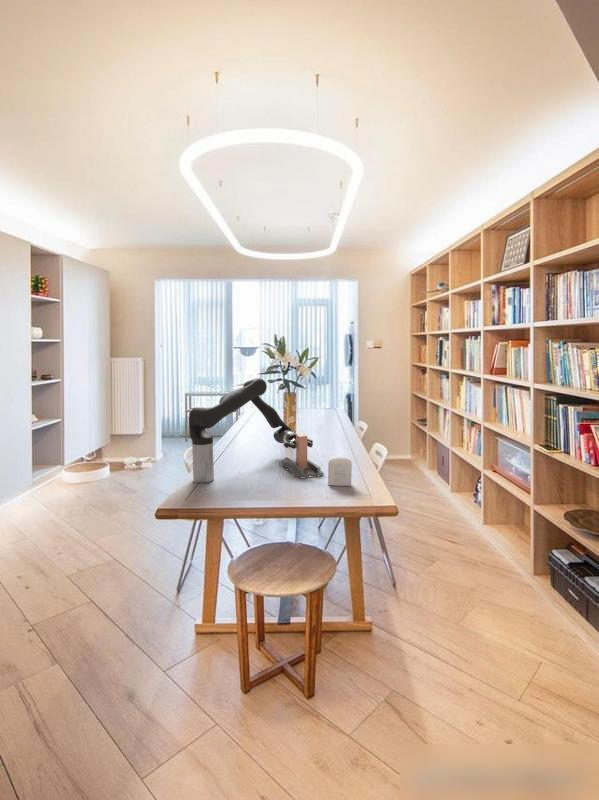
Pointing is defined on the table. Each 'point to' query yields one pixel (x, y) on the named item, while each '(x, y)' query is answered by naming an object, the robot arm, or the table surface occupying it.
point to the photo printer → (339, 471)
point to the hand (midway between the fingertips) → (302, 446)
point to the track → (299, 472)
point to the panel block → (301, 450)
